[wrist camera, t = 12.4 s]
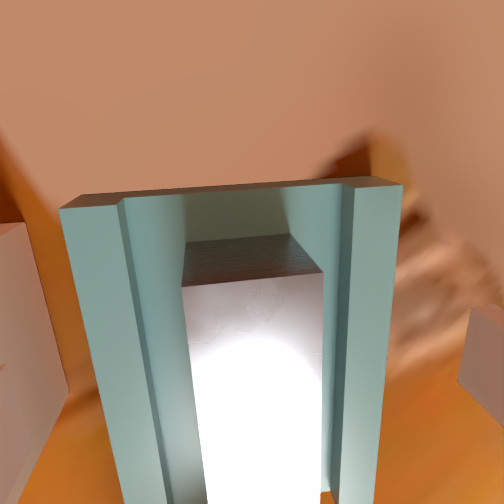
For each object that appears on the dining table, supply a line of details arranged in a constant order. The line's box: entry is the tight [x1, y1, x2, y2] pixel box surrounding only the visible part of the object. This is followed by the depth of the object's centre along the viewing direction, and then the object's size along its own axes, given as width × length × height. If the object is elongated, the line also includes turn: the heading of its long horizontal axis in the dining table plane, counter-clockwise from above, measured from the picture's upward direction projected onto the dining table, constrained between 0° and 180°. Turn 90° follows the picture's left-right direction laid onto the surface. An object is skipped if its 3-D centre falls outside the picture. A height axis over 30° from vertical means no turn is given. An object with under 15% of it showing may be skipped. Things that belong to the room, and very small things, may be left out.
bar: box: [181, 233, 324, 504], centre depth 16 cm, size 14×4×4 cm, turn 3°
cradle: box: [58, 176, 403, 504], centre depth 18 cm, size 18×13×3 cm
